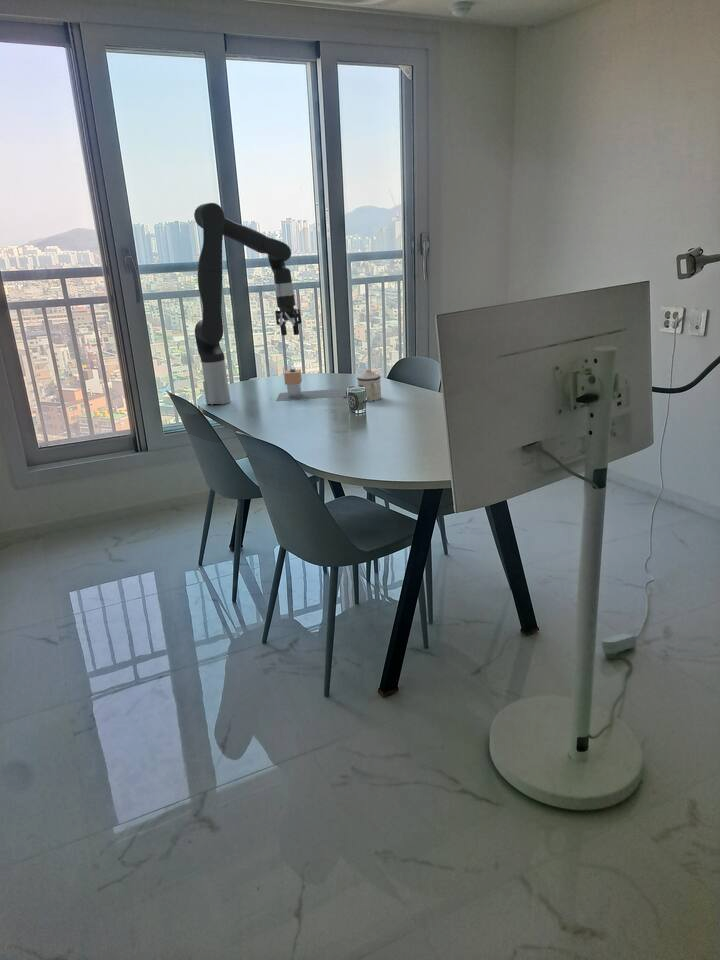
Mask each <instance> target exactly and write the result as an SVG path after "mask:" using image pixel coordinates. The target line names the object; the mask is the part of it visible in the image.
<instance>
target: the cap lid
mask: <svg viewBox="0 0 720 960" xmlns="http://www.w3.org/2000/svg"><path fill="white" fill-rule="evenodd" d="M283 376H284V385H286V386H287V385H288V384H301V385H302V380H303V378H302V369H295V368H291V369H286V370H285V371H284V373H283Z"/></svg>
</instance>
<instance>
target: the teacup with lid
mask: <svg viewBox="0 0 720 960" xmlns="http://www.w3.org/2000/svg"><path fill="white" fill-rule="evenodd" d="M356 379H357V385H358V387H365V388H366V398H367V401H366V402H374V401H373V400H376V401H379V400H381V399H382V390H381V389H382V388H381V387H382V386H381V375H380V374H379V373H376V372H375V371H372V370H371V368H366V370H365V371H364V372H362V373H361V374H358V375H357V377H356ZM358 387H357V388H358ZM380 398H381V399H380ZM378 399H379V400H378Z"/></svg>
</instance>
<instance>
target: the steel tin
mask: <svg viewBox="0 0 720 960" xmlns="http://www.w3.org/2000/svg"><path fill="white" fill-rule="evenodd" d="M301 385H302V383H301V384H288V385H286V389H287V392H288V398H291V397H301V394H302V392H301V391H302V386H301Z"/></svg>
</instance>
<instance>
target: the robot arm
mask: <svg viewBox="0 0 720 960" xmlns="http://www.w3.org/2000/svg"><path fill="white" fill-rule="evenodd" d="M193 217H194V220H195V223H196V225H197V226H199V227H200V228H201V229H202V232H203V233H202V234H203V236H202V237H203V240H202V247H201V251H200V254H199V259H198V263H197V286H198V292H199V296H200V299H201V303H202V304H201V305H202V319H201V320H198V321H197V323H196V324H195V326H194V336H195V343H196V347H197V352H198V355H199V357H200V362H201V369H202V374H203V380H202V384H203V390H204V391H203V392H204V398H205V403H206V404H211V405H210V406H214V405H213V404H221V405H225V404H229V403H231V394H230V387H229V379H228V372H227V366H226V365H227V364H226V360H225V359H226V357H225V353H224V351H223V350H222V348H221V344H220V341H222V338H223V336H224V324H223V312H222V311H223V309H222V303H223V302H222V301H223V299H222V298H223V238H224V237H226V238H229V239H232V240H233V241H235V242H237V243H239V244H241V245H243V246H244V247H247V248H248V249H251V250H253V251H255V252H256V253H260V254H266V255H267V259H268V261H269V262H268V263H269V266H270V268H271V271H272V274H273V280H274V290H275V291H274V292H275V297H276V298H275V299H276V307H277V308H279V309H277V310H275V311H274V314H275V320H276V325H277V326H279V327H280V333H281V336H287V334H288V333H287V327H286V325H287V322H288V321H289V322H291V325H292V332H293V336H297V335H300V331H299V329H300V327H299V325H300V324H302V316H301V312H300V311H301V310H300V308H295V306H296V298H295V292H294V285H293V280H292V274H291V270H290V269H289V268H288V267H287V266H286V264H285V263H286V262H287V261H289V260H290V258H291V256H292V249H291V248H290V246H289V244H287V243H286V242H284V241H281V240H279V239H275V238H273V237H269V236H266V235H265V234H263V233H261V232H259V231H258V230H257V229H254V228H251V227H249V226H246V225H243V224H240V223H238V222H234V221H233V220H231V219H229V218H227V217H225V213H224V210H223V208H222V206H220V204H218V203H216V202H207V203H202V204H200V205H199V206H197V207H196V208H195V210H194V213H193Z"/></svg>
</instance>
